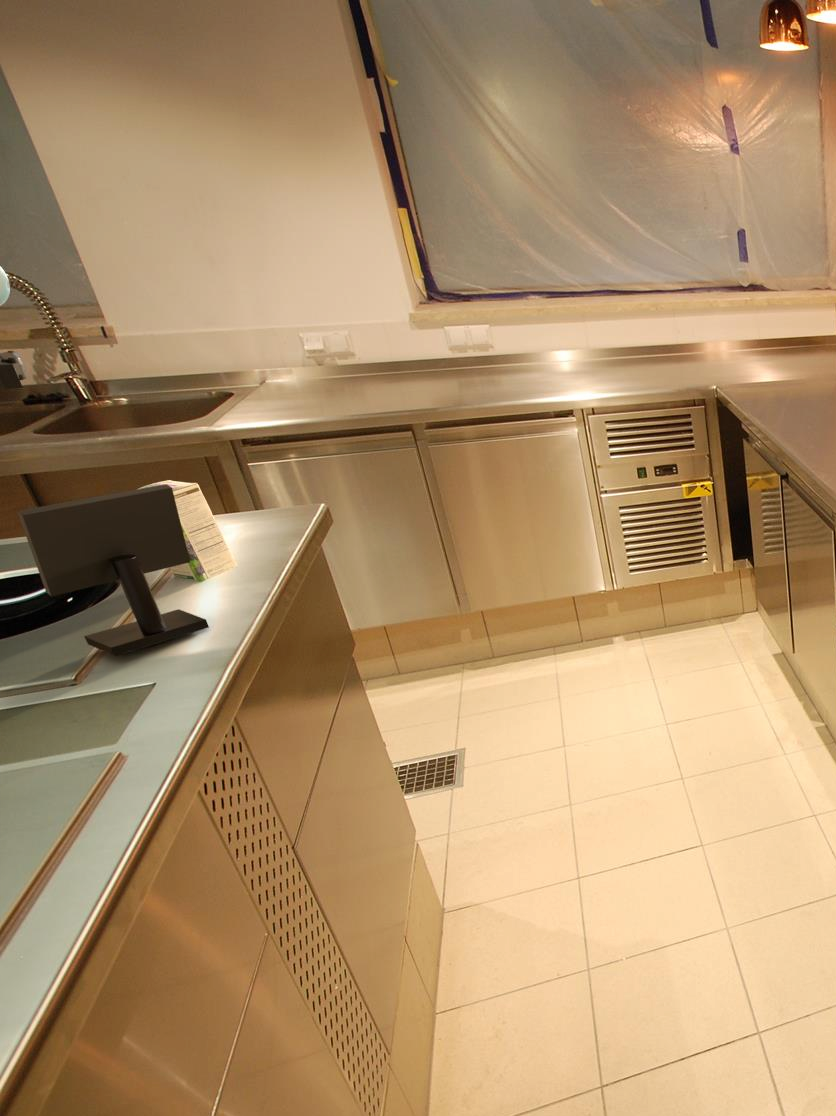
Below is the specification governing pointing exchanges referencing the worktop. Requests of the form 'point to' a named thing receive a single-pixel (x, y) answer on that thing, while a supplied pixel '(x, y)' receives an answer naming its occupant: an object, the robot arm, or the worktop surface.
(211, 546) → the syrup box
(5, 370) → the robot arm
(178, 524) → the monitor screen
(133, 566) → the monitor stand
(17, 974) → the worktop surface
